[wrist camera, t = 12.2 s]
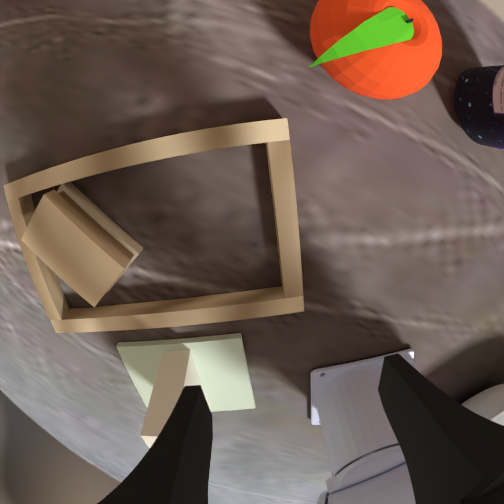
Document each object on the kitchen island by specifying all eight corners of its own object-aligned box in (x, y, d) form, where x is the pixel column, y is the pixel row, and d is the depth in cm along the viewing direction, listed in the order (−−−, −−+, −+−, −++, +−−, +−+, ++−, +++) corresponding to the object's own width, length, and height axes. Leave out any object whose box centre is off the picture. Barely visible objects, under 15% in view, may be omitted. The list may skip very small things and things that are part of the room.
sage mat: (240, 332, 23) (241, 337, 22) (255, 403, 26) (255, 408, 25) (118, 342, 23) (116, 346, 22) (151, 408, 26) (149, 412, 26)
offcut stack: (70, 179, 18) (41, 192, 15) (144, 246, 20) (127, 271, 17) (45, 221, 19) (18, 239, 16) (114, 283, 21) (95, 311, 18)
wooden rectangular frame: (283, 118, 17) (287, 118, 16) (300, 298, 22) (304, 311, 20) (16, 180, 17) (3, 185, 16) (64, 321, 22) (56, 332, 21)
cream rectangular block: (190, 349, 23) (175, 436, 15) (210, 406, 25) (204, 483, 18) (163, 351, 23) (140, 435, 15) (186, 407, 25) (176, 483, 18)
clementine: (324, 129, 17) (370, 135, 11) (260, 35, 15) (271, -12, 8) (420, 77, 16) (491, 69, 9) (365, -11, 13) (416, -55, 7)
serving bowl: (365, 451, 32) (378, 495, 25) (496, 339, 25) (529, 377, 19) (433, 464, 37) (445, 494, 31) (527, 383, 31) (547, 410, 24)
